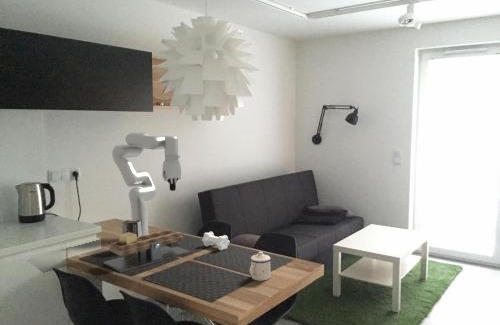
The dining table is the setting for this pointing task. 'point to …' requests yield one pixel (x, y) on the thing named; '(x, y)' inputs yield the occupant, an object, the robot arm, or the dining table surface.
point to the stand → (146, 257)
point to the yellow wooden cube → (127, 239)
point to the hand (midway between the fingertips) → (172, 190)
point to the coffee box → (132, 227)
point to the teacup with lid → (260, 267)
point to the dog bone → (216, 240)
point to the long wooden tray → (148, 242)
